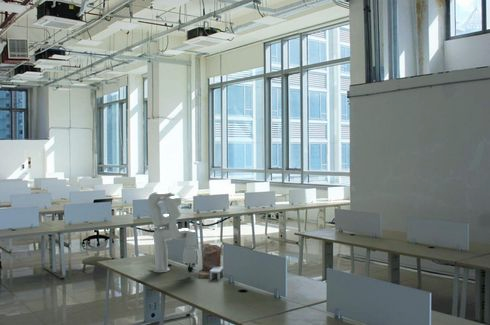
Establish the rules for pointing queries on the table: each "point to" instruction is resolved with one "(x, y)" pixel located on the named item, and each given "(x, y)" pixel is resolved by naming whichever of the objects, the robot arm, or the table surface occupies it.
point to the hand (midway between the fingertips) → (190, 271)
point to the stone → (210, 256)
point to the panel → (206, 275)
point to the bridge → (217, 270)
